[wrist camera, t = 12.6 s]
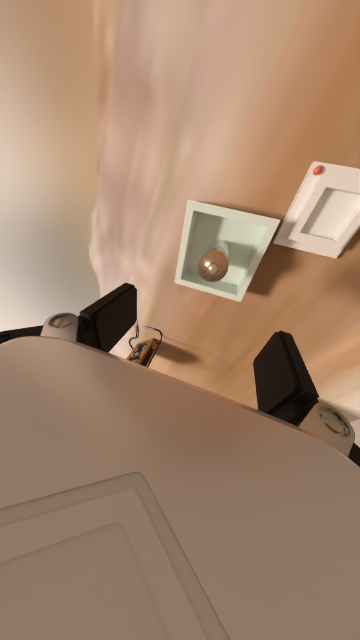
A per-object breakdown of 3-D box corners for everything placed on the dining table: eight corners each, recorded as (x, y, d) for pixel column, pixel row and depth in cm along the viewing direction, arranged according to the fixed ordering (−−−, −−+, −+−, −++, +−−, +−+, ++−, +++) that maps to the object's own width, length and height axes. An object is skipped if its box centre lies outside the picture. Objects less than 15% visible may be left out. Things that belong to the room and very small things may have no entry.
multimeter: (147, 314, 41) (94, 380, 25) (168, 341, 45) (132, 413, 29) (115, 329, 48) (57, 387, 33) (135, 351, 52) (92, 412, 36)
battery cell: (233, 242, 25) (232, 257, 17) (225, 264, 27) (221, 287, 20) (212, 236, 26) (201, 249, 18) (205, 259, 28) (194, 279, 20)
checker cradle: (393, 177, 18) (412, 173, 16) (332, 256, 23) (341, 261, 22) (311, 163, 19) (320, 158, 17) (272, 242, 25) (275, 245, 23)
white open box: (272, 217, 23) (280, 220, 19) (239, 289, 30) (240, 302, 26) (195, 200, 24) (187, 199, 20) (181, 273, 32) (174, 282, 28)
